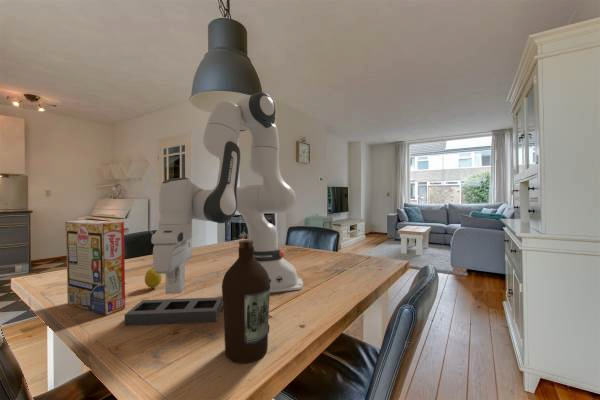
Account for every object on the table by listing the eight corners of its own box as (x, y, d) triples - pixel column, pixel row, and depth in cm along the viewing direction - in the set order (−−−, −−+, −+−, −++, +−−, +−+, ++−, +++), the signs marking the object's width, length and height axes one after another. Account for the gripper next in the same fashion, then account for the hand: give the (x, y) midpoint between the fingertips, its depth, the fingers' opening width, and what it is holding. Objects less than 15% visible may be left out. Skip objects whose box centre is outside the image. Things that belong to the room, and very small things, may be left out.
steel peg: (184, 288, 80) (184, 262, 80) (180, 293, 76) (180, 265, 76) (170, 289, 80) (170, 262, 80) (165, 294, 76) (165, 265, 76)
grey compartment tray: (222, 306, 85) (222, 297, 85) (215, 321, 75) (215, 311, 75) (142, 309, 82) (142, 300, 82) (124, 325, 73) (124, 314, 72)
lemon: (154, 291, 98) (154, 269, 97) (141, 290, 99) (141, 269, 99) (165, 286, 103) (164, 265, 103) (152, 285, 104) (152, 265, 104)
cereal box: (126, 308, 84) (124, 221, 83) (104, 316, 78) (103, 223, 77) (87, 297, 92) (86, 219, 91) (65, 304, 86) (63, 220, 86)
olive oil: (212, 352, 60) (212, 241, 60) (250, 333, 68) (249, 235, 68) (242, 372, 53) (241, 247, 53) (279, 349, 62) (279, 240, 61)
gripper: (177, 229, 88) (177, 271, 88) (148, 238, 68) (147, 293, 68) (197, 229, 89) (197, 271, 89) (174, 238, 68) (173, 292, 68)
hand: (175, 280), depth 78 cm, fingers closed on steel peg, 4 cm apart
